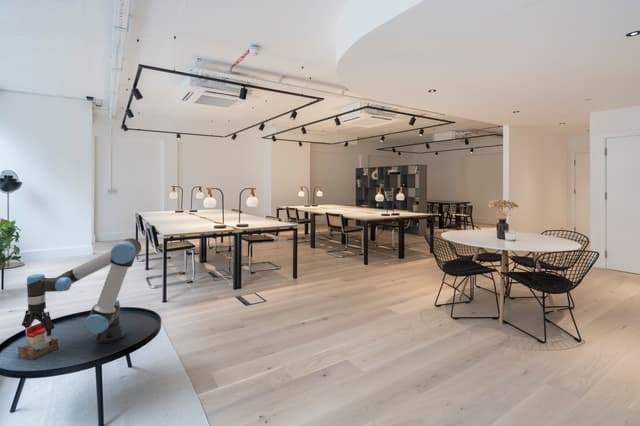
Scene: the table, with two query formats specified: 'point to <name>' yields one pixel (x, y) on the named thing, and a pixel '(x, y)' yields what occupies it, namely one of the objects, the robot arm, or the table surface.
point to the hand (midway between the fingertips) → (38, 340)
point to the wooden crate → (30, 352)
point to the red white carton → (36, 338)
